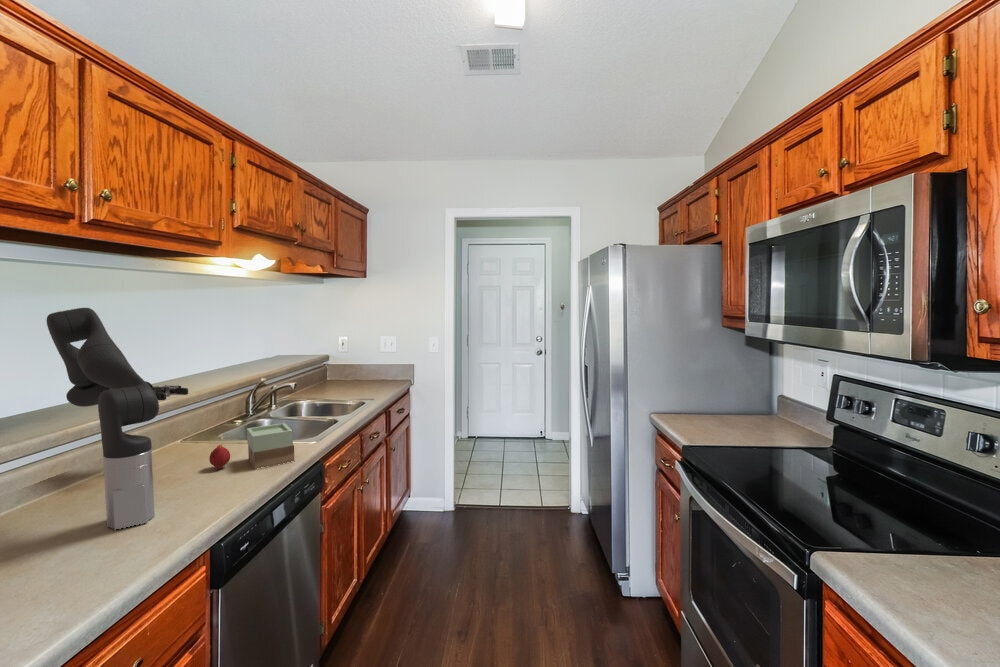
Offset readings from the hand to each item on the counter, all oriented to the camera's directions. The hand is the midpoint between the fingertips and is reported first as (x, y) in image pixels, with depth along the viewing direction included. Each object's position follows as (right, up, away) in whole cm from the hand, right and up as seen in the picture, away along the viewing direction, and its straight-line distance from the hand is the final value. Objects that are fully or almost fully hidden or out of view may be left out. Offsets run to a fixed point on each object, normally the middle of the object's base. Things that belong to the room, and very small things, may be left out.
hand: (176, 394), depth 145 cm
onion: (+12, -25, +3) cm, 28 cm away
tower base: (+25, -25, +10) cm, 37 cm away
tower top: (+25, -19, +10) cm, 33 cm away
